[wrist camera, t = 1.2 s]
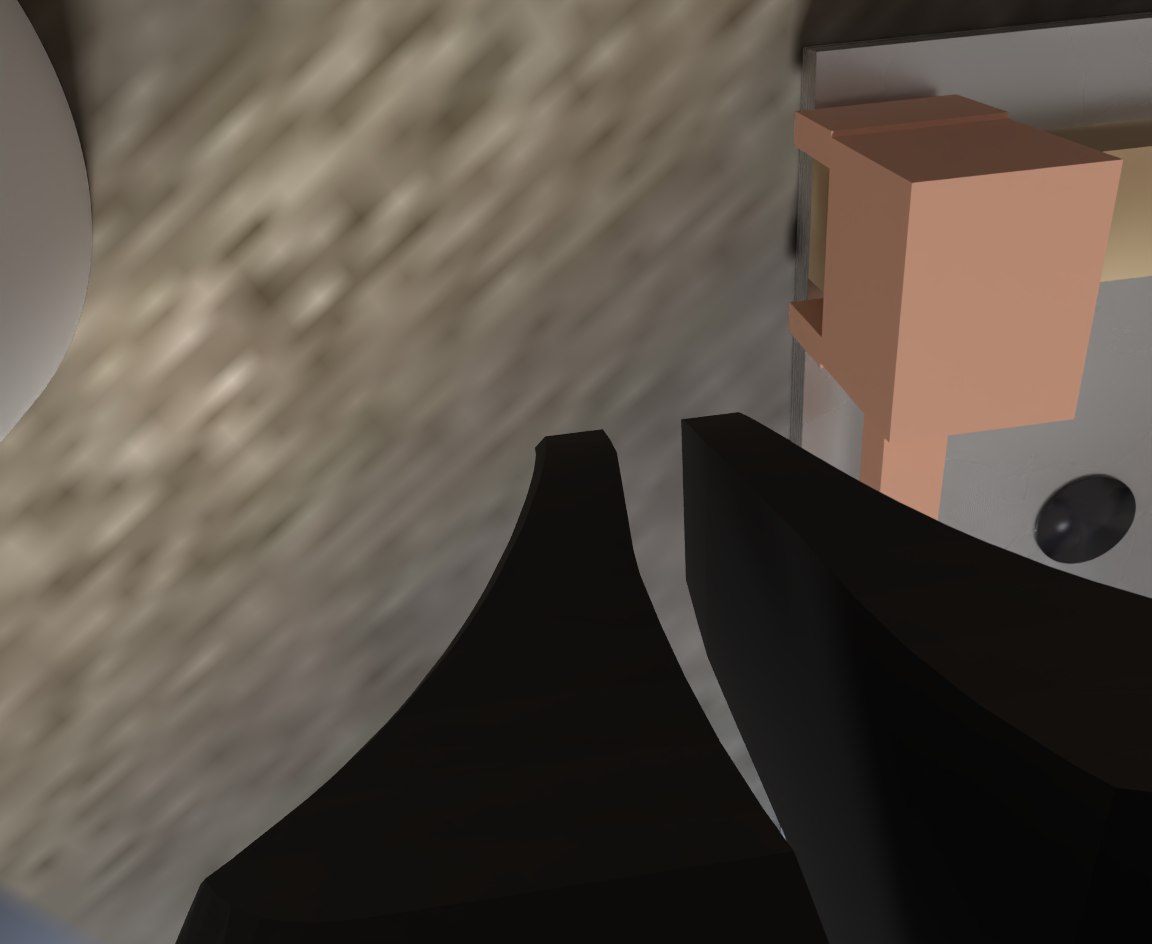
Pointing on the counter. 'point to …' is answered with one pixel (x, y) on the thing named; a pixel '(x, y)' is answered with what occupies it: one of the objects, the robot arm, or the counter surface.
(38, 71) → the canister
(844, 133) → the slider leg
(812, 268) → the bar
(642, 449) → the counter surface
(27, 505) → the counter surface
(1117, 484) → the flange plate
